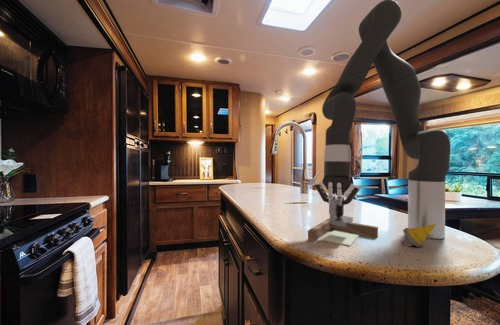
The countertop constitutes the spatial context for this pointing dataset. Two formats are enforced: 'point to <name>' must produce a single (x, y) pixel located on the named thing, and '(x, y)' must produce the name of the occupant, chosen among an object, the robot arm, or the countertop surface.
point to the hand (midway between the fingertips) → (336, 216)
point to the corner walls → (351, 228)
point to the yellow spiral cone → (417, 235)
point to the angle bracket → (334, 218)
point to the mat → (341, 237)
